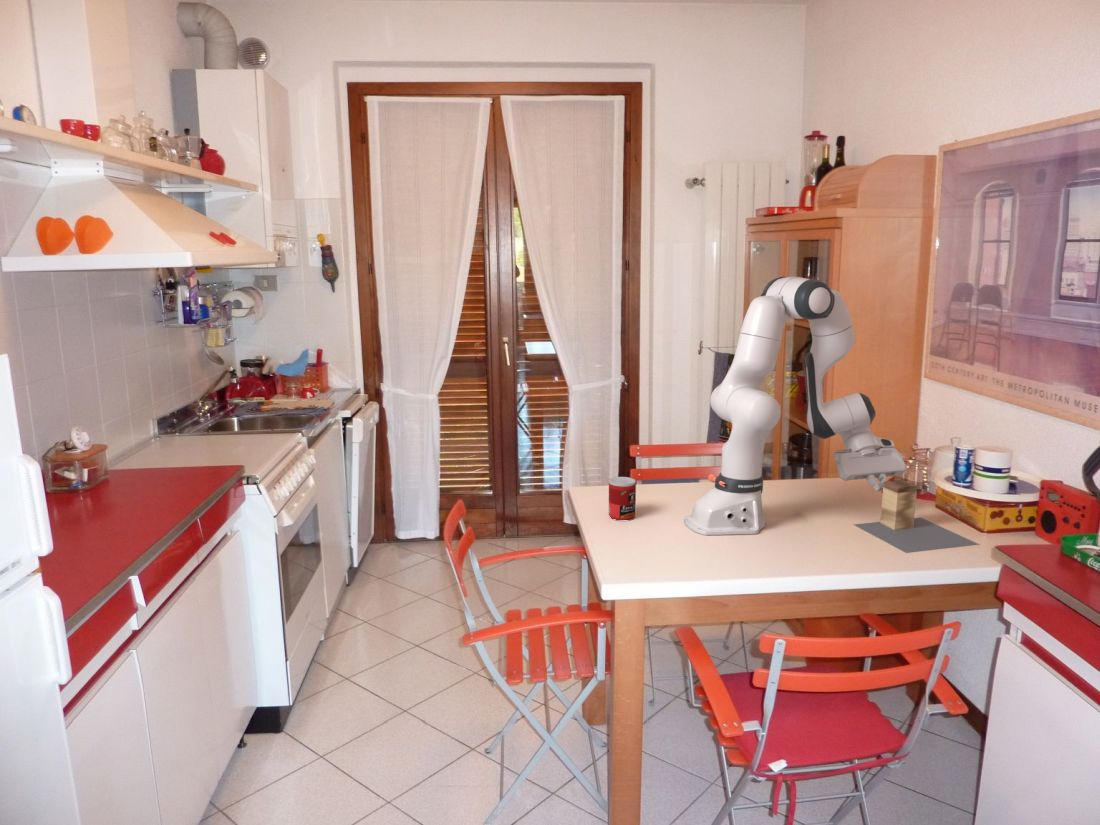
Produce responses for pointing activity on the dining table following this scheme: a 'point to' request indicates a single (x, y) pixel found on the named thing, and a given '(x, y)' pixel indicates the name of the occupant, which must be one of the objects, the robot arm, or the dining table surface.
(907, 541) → the rubber mat
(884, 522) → the maple block
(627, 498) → the canned food
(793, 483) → the dining table surface
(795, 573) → the dining table surface
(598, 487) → the dining table surface
